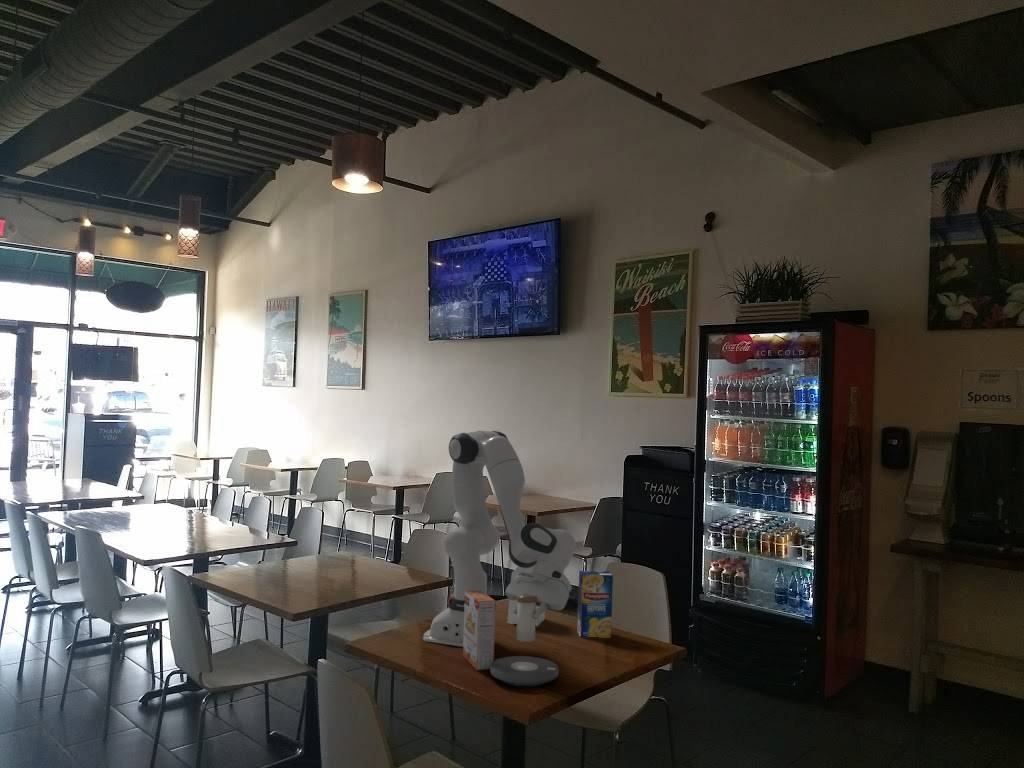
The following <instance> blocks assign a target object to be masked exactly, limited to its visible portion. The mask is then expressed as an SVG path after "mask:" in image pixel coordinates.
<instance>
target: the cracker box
mask: <svg viewBox="0 0 1024 768" xmlns="http://www.w3.org/2000/svg"><path fill="white" fill-rule="evenodd" d="M496 602H497V601H496V600H495V599H493V598H492V597H490V595H488V594H487V593H486V594H485V593H484V592H482V591H481V590H478V591H465V604H464V637H463V647H462V657H463V658H464V659H465V660H466V661H467V662H468V663H469V664H470V665H471V666H472V668H474V669H475V671H487V670H490V665H491V663H492V662H493V661H495V660H494V659H495V634H496V633H495V632H496V631H495V629H496Z"/></svg>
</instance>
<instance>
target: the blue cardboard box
mask: <svg viewBox="0 0 1024 768" xmlns="http://www.w3.org/2000/svg"><path fill="white" fill-rule="evenodd" d="M613 578H614V575H613V573H611V572H610V571H608V570H606V571H605V570H579V574H578V600H577V601H578V603H577V605H578V606H577V634H578V633H579V634H578V636H579V637H580V636H581V637H599V639H602V638H603V639H611V638H612V622H613V621H612V617H613V616H612V614H613V589H614V588H613V584H614V582H613V581H614V579H613ZM581 637H580V638H581Z"/></svg>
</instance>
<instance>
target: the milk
mask: <svg viewBox="0 0 1024 768" xmlns="http://www.w3.org/2000/svg"><path fill="white" fill-rule="evenodd" d="M535 565H536V564H535ZM535 565H534V566H532V567H529V568H522V567H519V566H517V567H516V568H515V569H514V570H513V571H512V573H511V575H510V577H511V578H510V582H511V581H512V580H513V579H514V578H515V576H516V575H518V574H521V573H526V574H531V572H532V570H533V569H534V567H535ZM508 602H509V603H508V611H507V612H508V613H507V622H506V624H507V623H509V624H508V625H514V624H517V614H514V612H513V610H514V608H515V601H513V600H510V599H509V598H508ZM539 608H540V606H536V610H537V609H539ZM545 612H546V611H545ZM545 612H544V613H542V614H541V615H540V616H539V618H538V619H535V626H538V625H539V624H540V623H541V622H542V621H544V620H545V616H546V614H545ZM542 623H543V622H542ZM542 623H541V624H542ZM541 624H540V625H541ZM540 625H539V626H540ZM539 626H538V627H539Z"/></svg>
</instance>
